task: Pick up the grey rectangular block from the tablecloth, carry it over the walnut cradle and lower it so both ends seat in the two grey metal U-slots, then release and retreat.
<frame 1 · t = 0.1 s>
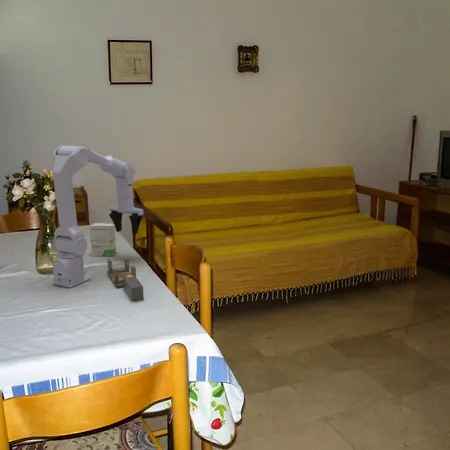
hand: (127, 232, 196), 10 cm above the table, fingers open, 7 cm apart
grey rectangular block: (133, 294, 163), on the table
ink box: (104, 254, 205), on the table
cradle: (122, 279, 177), on the table
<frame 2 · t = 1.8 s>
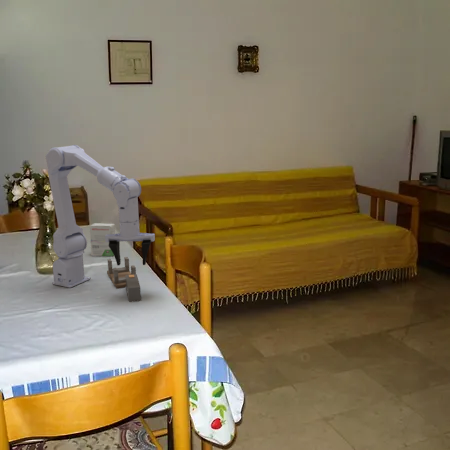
hand: (131, 264, 161), 9 cm above the table, fingers open, 7 cm apart
nothing on the table moved.
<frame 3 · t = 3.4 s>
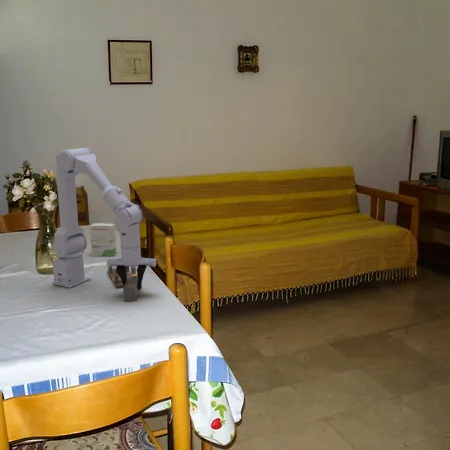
hand: (132, 288, 163), 2 cm above the table, fingers closed on grey rectangular block, 3 cm apart
grey rectangular block: (133, 294, 163), on the table, touching gripper
everything else where it was.
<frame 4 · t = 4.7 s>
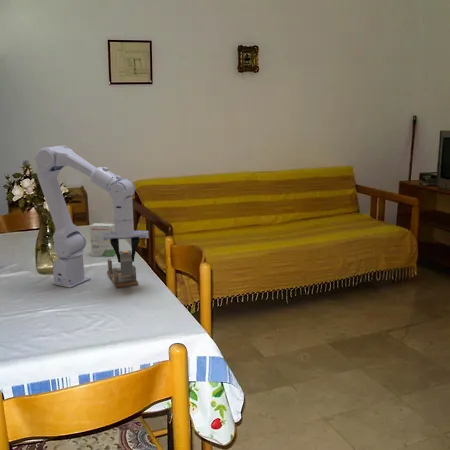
hand: (126, 261, 167), 9 cm above the table, fingers closed on grey rectangular block, 3 cm apart
grey rectangular block: (126, 269, 168), point 6 cm above the table, touching gripper
everything else where it was.
when the fingers open (4 cm above the table, at t = 6.4 s): grey rectangular block stays where it is, resting on cradle.
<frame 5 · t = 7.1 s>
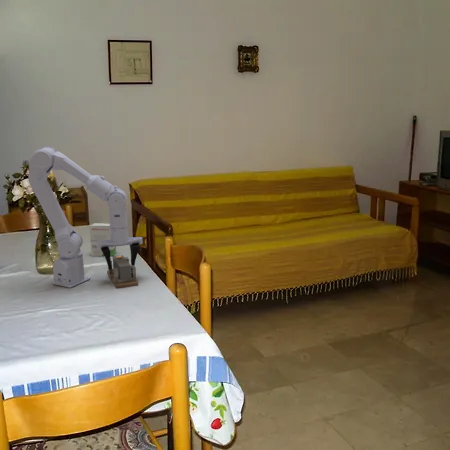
hand: (121, 267, 176), 4 cm above the table, fingers open, 7 cm apart
grey rectangular block: (122, 273, 176), point 2 cm above the table, touching cradle
everything else where it was.
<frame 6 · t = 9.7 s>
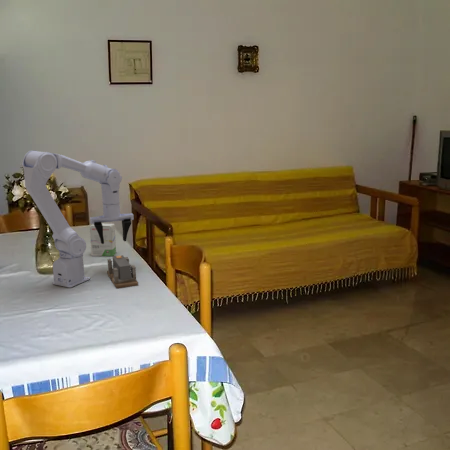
hand: (113, 241, 185), 10 cm above the table, fingers open, 7 cm apart
nothing on the table moved.
at the end: grey rectangular block 0.5 cm from the cradle (horizontally); grey rectangular block 0.5 cm off-centre on the cradle, point 2.0 cm above the cradle's base; grey rectangular block tilted 0° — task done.
